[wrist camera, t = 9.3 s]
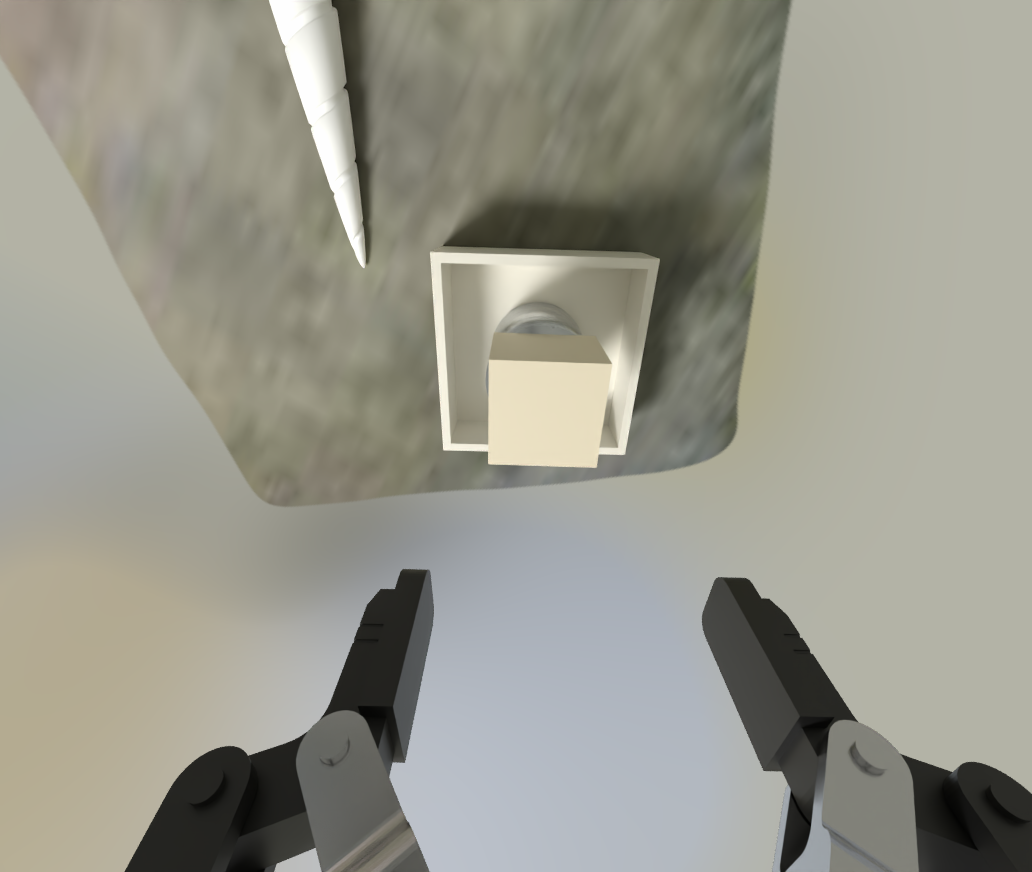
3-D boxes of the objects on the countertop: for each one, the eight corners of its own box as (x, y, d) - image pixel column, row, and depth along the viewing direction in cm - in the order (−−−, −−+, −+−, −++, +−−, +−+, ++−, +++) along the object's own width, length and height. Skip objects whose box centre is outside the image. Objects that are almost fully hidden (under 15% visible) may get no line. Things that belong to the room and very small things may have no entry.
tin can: (491, 300, 30) (484, 324, 24) (587, 303, 30) (604, 327, 24) (491, 389, 34) (485, 429, 28) (577, 392, 34) (590, 432, 28)
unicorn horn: (314, 266, 30) (280, 275, 26) (204, -302, 19) (112, -452, 14) (379, 268, 30) (357, 277, 26) (310, -298, 19) (249, -445, 14)
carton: (493, 332, 24) (488, 359, 20) (595, 336, 24) (612, 364, 20) (493, 422, 27) (488, 464, 23) (583, 426, 27) (596, 467, 23)
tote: (442, 245, 29) (430, 252, 25) (640, 252, 29) (660, 259, 25) (451, 423, 36) (443, 450, 32) (613, 427, 36) (624, 454, 32)
